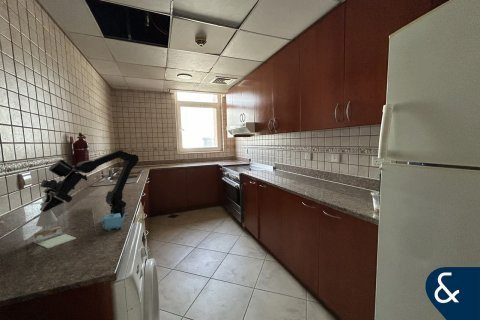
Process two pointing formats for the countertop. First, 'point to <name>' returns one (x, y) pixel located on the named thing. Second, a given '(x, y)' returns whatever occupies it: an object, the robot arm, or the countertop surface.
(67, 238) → the pad
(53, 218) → the flask
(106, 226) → the teapot
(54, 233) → the cradle
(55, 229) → the rod
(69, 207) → the countertop surface
